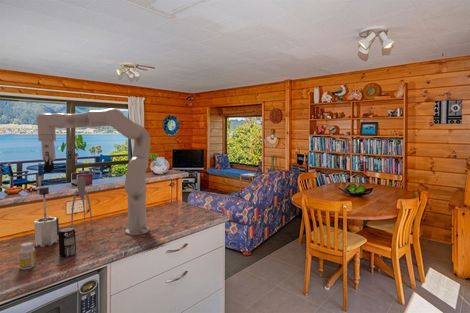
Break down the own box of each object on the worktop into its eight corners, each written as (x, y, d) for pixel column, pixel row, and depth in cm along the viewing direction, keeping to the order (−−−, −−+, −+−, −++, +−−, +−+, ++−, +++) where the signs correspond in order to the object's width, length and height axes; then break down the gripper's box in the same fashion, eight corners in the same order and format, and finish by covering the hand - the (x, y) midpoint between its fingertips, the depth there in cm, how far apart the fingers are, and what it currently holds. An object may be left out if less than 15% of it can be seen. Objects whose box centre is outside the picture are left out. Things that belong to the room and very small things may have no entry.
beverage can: (63, 252, 134) (62, 226, 133) (78, 251, 134) (77, 226, 133) (56, 258, 127) (55, 231, 126) (72, 257, 128) (70, 231, 127)
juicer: (85, 231, 160) (83, 178, 157) (71, 230, 162) (69, 177, 159) (98, 225, 170) (96, 175, 167) (84, 224, 172) (82, 174, 169)
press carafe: (46, 247, 138) (45, 223, 137) (30, 246, 140) (29, 222, 139) (65, 238, 150) (64, 216, 149) (50, 237, 151) (49, 214, 150)
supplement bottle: (26, 270, 116) (24, 247, 115) (17, 268, 118) (15, 245, 117) (39, 264, 121) (38, 242, 120) (30, 262, 123) (29, 240, 122)
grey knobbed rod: (54, 223, 143) (52, 187, 141) (40, 226, 138) (38, 189, 137) (50, 220, 147) (48, 186, 145) (36, 223, 142) (34, 187, 141)
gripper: (54, 138, 142) (56, 173, 143) (57, 137, 157) (59, 168, 159) (35, 138, 138) (38, 174, 140) (40, 137, 154) (43, 169, 155)
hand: (49, 171), depth 149 cm, fingers open, 9 cm apart
